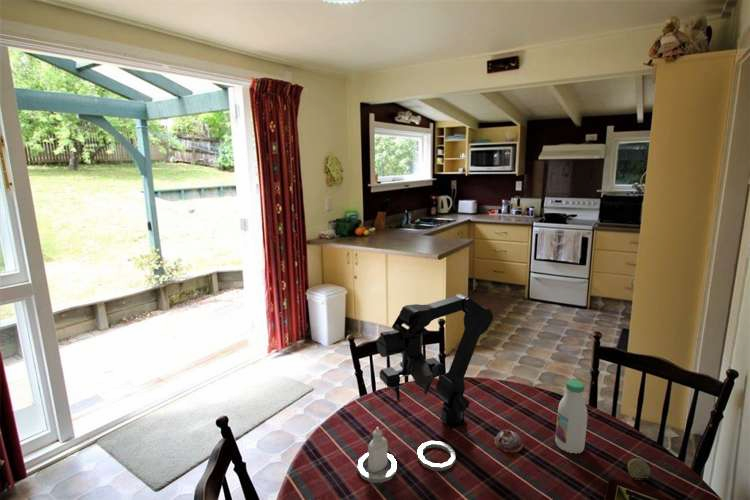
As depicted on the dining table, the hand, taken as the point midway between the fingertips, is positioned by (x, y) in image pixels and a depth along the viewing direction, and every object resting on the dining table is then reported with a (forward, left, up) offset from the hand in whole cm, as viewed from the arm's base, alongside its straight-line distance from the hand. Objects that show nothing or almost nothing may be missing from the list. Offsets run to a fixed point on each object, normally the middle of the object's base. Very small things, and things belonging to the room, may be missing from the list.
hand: (411, 397), depth 120 cm
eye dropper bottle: (+15, +8, -13) cm, 21 cm away
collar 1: (+15, +8, -13) cm, 21 cm away
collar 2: (-2, +11, -13) cm, 17 cm away
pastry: (-24, +15, -13) cm, 32 cm away
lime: (-46, +39, -13) cm, 62 cm away
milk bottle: (-40, +23, -13) cm, 48 cm away
